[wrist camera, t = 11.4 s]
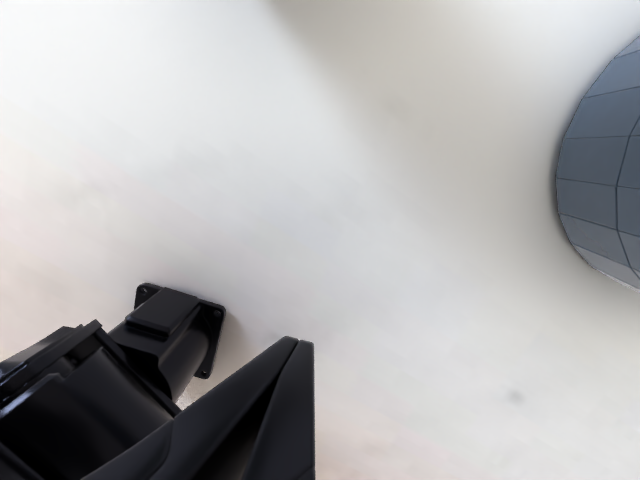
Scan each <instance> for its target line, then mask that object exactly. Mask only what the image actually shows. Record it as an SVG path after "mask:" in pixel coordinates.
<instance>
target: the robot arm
mask: <svg viewBox="0 0 640 480" xmlns="http://www.w3.org/2000/svg"><path fill="white" fill-rule="evenodd" d="M144 289H146V290H147V292H146V291H144ZM216 311H219V312H220V313H221V314H218V313H217V312H216ZM225 316H226V309H225V308H224V307H223V306H221V305H218V304H215V303H212V302H209V301H205V300H202V299H199V298H197V297H195V296H192V295H189V294H185V293H182V292H179V291H176V290H172V289H169V288H166V287H165V288H163V287H160V286H156V285H153V284H150V283H142V284H141V285H139V286H138V287H137V291H136V298H135V306H134V311H132V312H131V313H130V314H129V315H127V316H126V317H125V320H124V321H123V322H121V323H120V324H119V325H118V326H116V327H115V328H114V329H113V330H111V331H110V332H109V333H108V334H107V333H106V332H105V331H104V330H103V329H102V328H101V327H102V325H101V324H100V323H99V322H98V321H97V320H96V319H95V320H93V321H92V322H90V323H89V324H87V325H86V326H83V325H82V324H80V325H79V326H77V327H76V328H71V327H66V326H63V327H61V328H60V329H58V330H57V331H55V332H53V333H52V334H50V335H49V336H47V337H46V338H44V339H42V340H41V341H39V342H38V343H36V344H34V345H32V346H31V347H29V348H27V349H25V350H23V351H21V352H19V353H17V354H15V355H14V356H12V357H10V358H8V359H6V360H4V361H2V362H1V363H0V480H315V406H314V344H313V343H312V342H309V341H305V340H300V341H299V340H298V339H297V338H293V337H289V336H285V337H283V338H281V339H280V340H279V341H277V342H276V343H275V344H273V345H272V346H270V347H269V348H268V349H266V350H265V351H264V352H262V353H261V354H260V355H258V356H257V357H255V358H254V359H253V360H251V361H250V362H249V363H247V364H246V365H244V366H243V367H242V368H240V369H239V370H238V371H236V372H235V373H234V374H232V375H231V376H229V377H228V378H227V379H225V380H224V381H223V382H221V383H220V384H218V385H217V386H216V387H214V388H213V389H212V390H210V391H209V392H208V393H206V394H205V395H203V396H202V397H201V398H199V399H198V400H197V401H195V402H194V403H192V404H191V405H190V406H188V407H187V408H186V409H184V410H183V411H182V410H181V409H180V408H179V407H178V406H177V405H176V404H175V403H176V402H177V400H178V399H179V397H180V396H181V394H182V392H183V391H184V389H185V388H186V386H187V385H188V383H189V382H190V380H191V379H192V377H193V376H195V377H198V378H201V379H207V378H209V376H210V375H211V373H212V370H213V366H214V361H215V357H216V353H217V349H218V345H219V341H220V336H221V332H222V328H223V324H224V320H225ZM203 371H205V372H206V373H205V372H203Z"/></svg>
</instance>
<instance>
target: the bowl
mask: <svg viewBox="0 0 640 480" xmlns="http://www.w3.org/2000/svg"><path fill="white" fill-rule="evenodd" d="M556 189H557V203H558V212H559V213H558V214H559V216H560V219H561V221H562V224H563V226H564V229H565V231H566V234H567V236H568V239H569V241H570V242H571V244H572V245H573V246H574V248H575V249H576V250H577V251H578V252H579V253H580V255H581V256H582V257H583V258H584V259H585V260H586V262H587V263H588V264H589V265H590V266H592V267H593V268H594V269H596V270H598V271H599V272H601V273H603V274H604V275H606V276H608V277H609V278H611V279H613V280H614V281H616V282H618V283H620V284H622V285H624V286H626V287H628V288H630V289H632V290H634V291H636V292H638V293H640V36H639V37H638V38H636V39H635V40H634V41H633V42H632V43H631V44H630V45H628V46H627V47H626V48H625V49H624V50H623V51H622V52H620V53H619V54H618V55H617V56H616V57H615V58H614V59H613V60H612V61H611V62H610V63H609V65H608V66H607V67H606V68H605V70H604V71H603V72H602V74H601V75H600V76H599V78H598V79H597V80H596V82H595V83H594V84H593V85H592V87H591V88H590V89H589V91H588V92H587V93H586V95H585V96H584V97H583V99H582V100H581V102H580V104H579V106H578V109H577V111H576V113H575V115H574V117H573V119H572V121H571V123H570V126H569V128H568V130H567V132H566V134H565V136H564V139H563V143H562V147H561V152H560V157H559V162H558V167H557V172H556Z"/></svg>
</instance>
